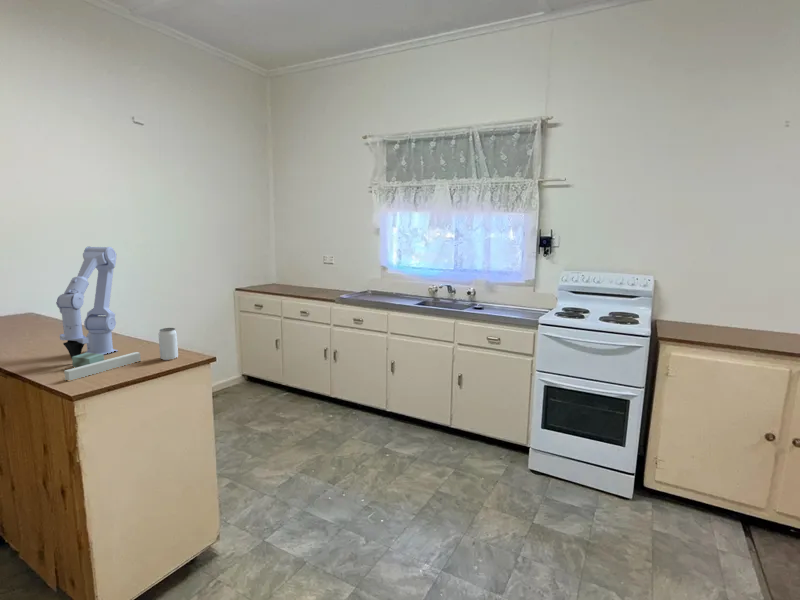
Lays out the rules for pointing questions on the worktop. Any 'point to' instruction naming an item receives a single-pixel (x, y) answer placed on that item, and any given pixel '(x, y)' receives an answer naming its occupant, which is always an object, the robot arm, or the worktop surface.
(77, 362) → the block
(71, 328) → the robot arm
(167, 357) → the can
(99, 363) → the board
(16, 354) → the worktop surface
